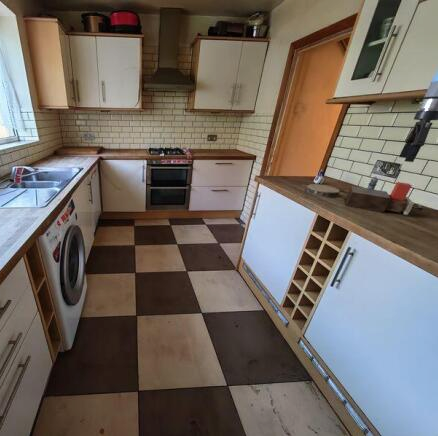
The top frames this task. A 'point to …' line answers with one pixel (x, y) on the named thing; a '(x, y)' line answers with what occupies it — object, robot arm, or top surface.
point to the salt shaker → (372, 183)
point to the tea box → (400, 191)
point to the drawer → (402, 206)
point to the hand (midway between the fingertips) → (405, 159)
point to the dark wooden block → (367, 199)
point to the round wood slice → (322, 190)
